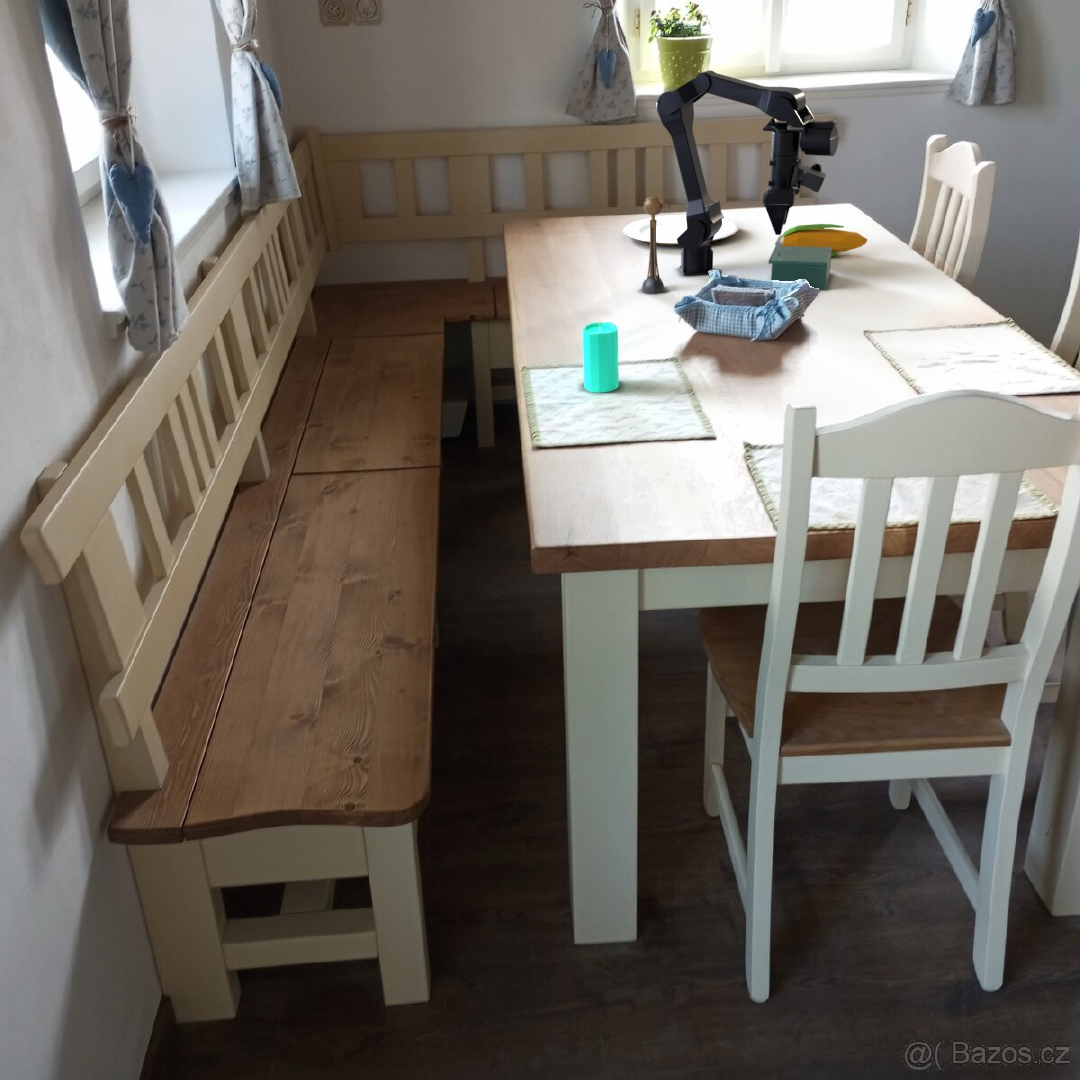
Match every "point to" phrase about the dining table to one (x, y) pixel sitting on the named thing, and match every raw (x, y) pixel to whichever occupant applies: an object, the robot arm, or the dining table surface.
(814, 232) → the corn
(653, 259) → the wooden tabletop sculpture
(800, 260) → the lid
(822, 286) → the chest
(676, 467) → the dining table surface
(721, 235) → the plate
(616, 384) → the candle
